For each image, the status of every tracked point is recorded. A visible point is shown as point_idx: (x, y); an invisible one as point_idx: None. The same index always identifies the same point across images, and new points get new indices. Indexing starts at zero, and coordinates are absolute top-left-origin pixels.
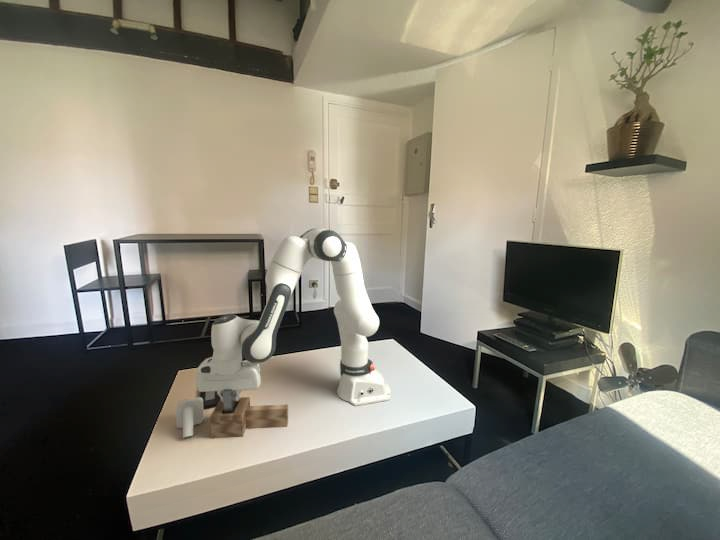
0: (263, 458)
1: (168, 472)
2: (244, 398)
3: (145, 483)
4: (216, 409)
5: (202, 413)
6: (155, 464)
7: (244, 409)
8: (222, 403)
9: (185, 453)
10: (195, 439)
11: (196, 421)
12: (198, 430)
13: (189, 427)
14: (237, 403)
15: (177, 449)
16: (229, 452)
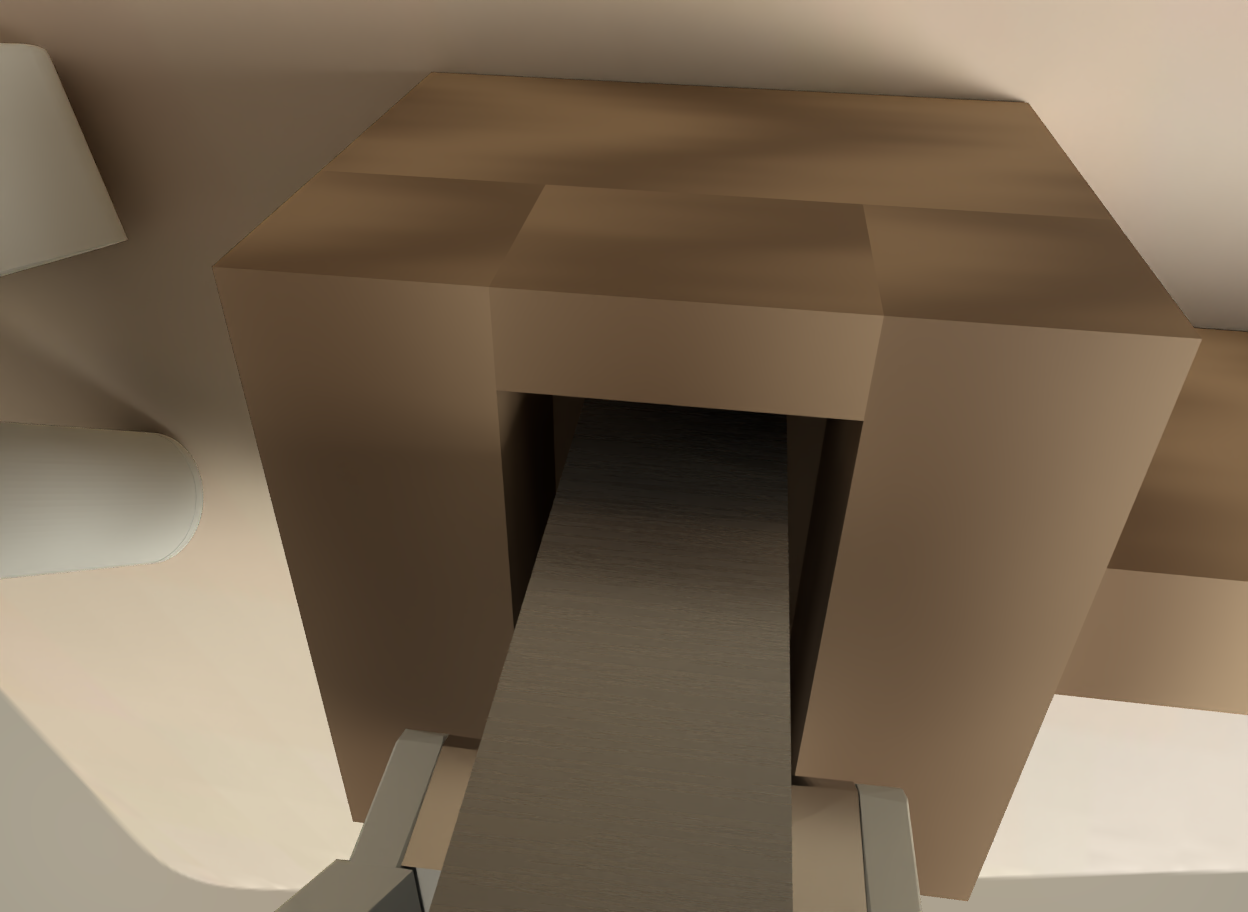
0: (1170, 854)
1: (289, 804)
2: (1007, 391)
3: (185, 845)
4: (364, 676)
5: (28, 262)
6: (104, 720)
7: (1017, 754)
8: (394, 510)
9: (295, 663)
10: (269, 499)
11: (38, 264)
12: (193, 341)
13: (85, 561)
14: (785, 425)
15: (167, 603)
16: None
